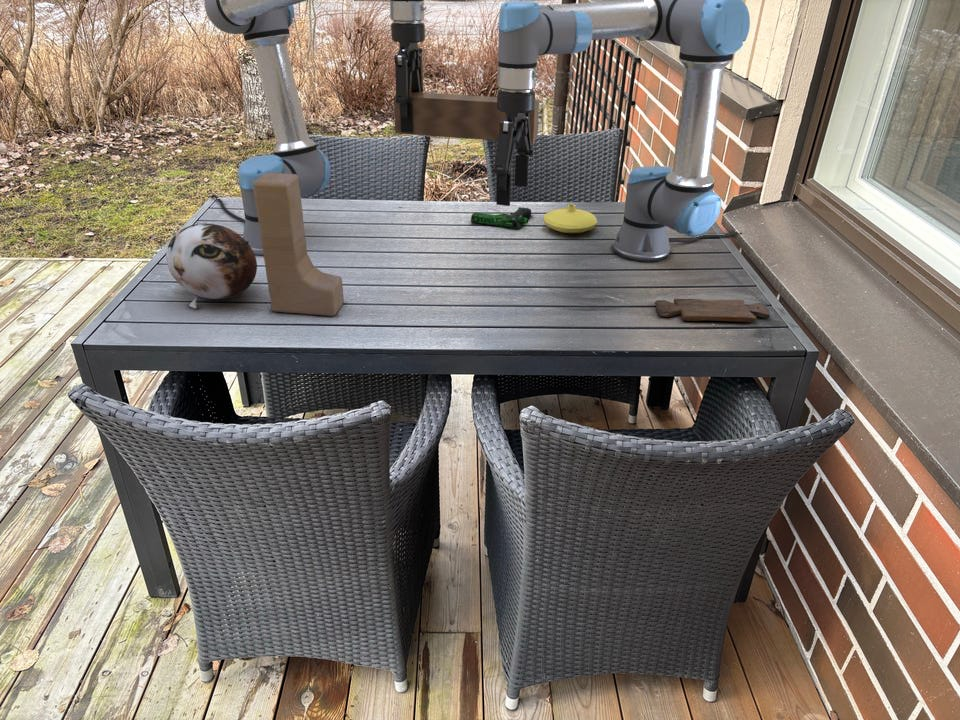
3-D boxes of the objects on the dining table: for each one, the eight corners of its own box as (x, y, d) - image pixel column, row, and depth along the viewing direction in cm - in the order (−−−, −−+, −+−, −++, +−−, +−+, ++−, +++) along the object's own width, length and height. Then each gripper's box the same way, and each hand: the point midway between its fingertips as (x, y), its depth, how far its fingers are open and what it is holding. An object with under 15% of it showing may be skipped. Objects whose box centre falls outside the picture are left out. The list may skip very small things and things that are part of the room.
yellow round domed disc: (559, 216, 220) (561, 193, 217) (605, 227, 212) (608, 204, 209) (532, 230, 209) (533, 207, 206) (580, 242, 201) (582, 218, 198)
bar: (395, 133, 169) (393, 95, 164) (403, 127, 174) (401, 91, 169) (533, 143, 162) (535, 104, 158) (537, 137, 167) (539, 99, 163)
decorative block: (334, 317, 160) (321, 185, 145) (271, 312, 162) (251, 181, 147) (344, 302, 167) (333, 175, 151) (283, 298, 168) (265, 171, 153)
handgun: (537, 208, 218) (520, 221, 206) (536, 217, 220) (520, 231, 208) (488, 201, 224) (469, 214, 212) (488, 211, 225) (469, 224, 213)
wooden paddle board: (775, 325, 161) (761, 305, 169) (777, 318, 160) (763, 299, 168) (660, 321, 161) (652, 301, 169) (661, 314, 160) (653, 295, 169)
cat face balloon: (130, 285, 161) (164, 203, 163) (192, 308, 177) (221, 233, 178) (195, 307, 151) (229, 220, 152) (254, 330, 166) (285, 250, 168)
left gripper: (410, 27, 150) (414, 139, 162) (435, 18, 166) (437, 121, 178) (376, 25, 151) (383, 136, 163) (404, 17, 167) (408, 119, 179)
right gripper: (517, 102, 129) (513, 215, 140) (549, 80, 149) (543, 180, 160) (478, 99, 131) (476, 211, 142) (515, 77, 151) (511, 177, 162)
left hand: (411, 128), depth 170 cm, fingers closed on bar, 6 cm apart
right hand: (512, 195), depth 151 cm, fingers open, 13 cm apart
